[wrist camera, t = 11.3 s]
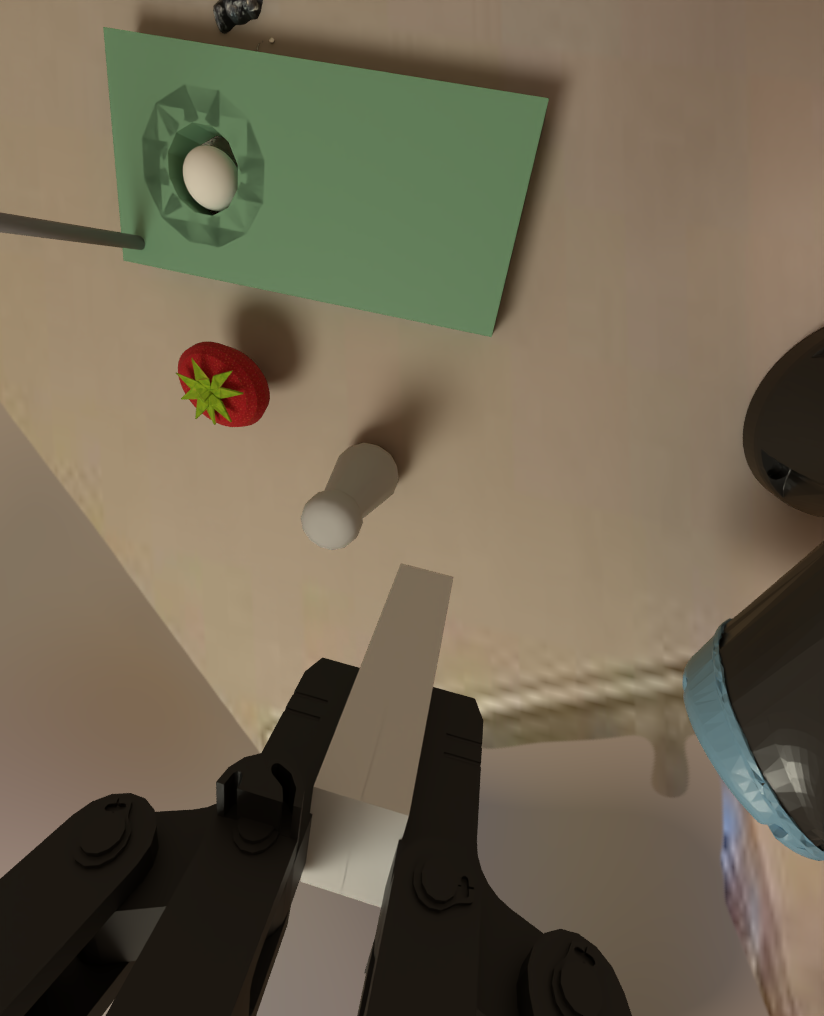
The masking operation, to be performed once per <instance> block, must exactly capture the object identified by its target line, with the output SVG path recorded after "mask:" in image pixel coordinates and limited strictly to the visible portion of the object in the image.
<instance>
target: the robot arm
mask: <svg viewBox="0 0 824 1016" xmlns="http://www.w3.org/2000/svg"><path fill="white" fill-rule="evenodd" d="M743 447H744V453H745V457H746V460H747V463H748V465H749V467H750V470H751V471H752V473H753V475H754V476H755V477H756V479H757V480H758V481H759V482H760V483H761V484H762V485H763V486H764V487H765V488H766V489H767V490H768V491H770V492H771V493H772V494H774V495H775V496H777V497H778V498H779V499H781V500H782V501H783V502H785V503H787V504H788V505H790V506H792V507H794V508H796V509H798V510H800V511H803V512H805V513H808V514H811V515H814V516H818V517H823V518H824V328H823V329H821V330H819V331H817V332H815V333H814V334H812V335H810V336H809V337H807V338H806V339H805V340H803V341H802V342H800V343H799V344H798V345H796V346H795V347H794V348H793V349H791V350H790V351H789V352H788V353H787V354H786V355H785V356H784V357H782V358H781V359H780V360H779V361H778V362H777V364H776V365H775V366H774V367H773V368H772V369H771V370H770V372H769V373H768V374H767V375H766V377H765V378H764V379H763V381H762V382H761V384H760V385H759V387H758V389H757V390H756V392H755V394H754V396H753V398H752V400H751V402H750V405H749V408H748V410H747V414H746V417H745V422H744V428H743ZM452 582H453V577H452V576H448V575H444V574H440V573H436V572H432V571H429V570H425V569H421V568H417V567H413V566H409V565H405V564H401V565H400V567H399V570H398V572H397V575H396V577H395V580H394V583H393V585H392V588H391V590H390V593H389V595H388V598H387V600H386V603H385V606H384V608H383V611H382V613H381V616H380V618H379V621H378V623H377V626H376V628H375V631H374V634H373V636H372V639H371V641H370V644H369V646H368V649H367V651H366V654H365V657H364V659H363V662H362V664H361V667H360V668H358V667H354V666H351V665H347V664H344V663H340V662H337V661H333V660H329V659H326V658H321V659H320V660H319V661H318V662H316V663H315V664H314V665H313V666H311V667H310V668H309V669H308V670H306V671H305V673H304V674H303V676H302V678H301V680H300V682H299V684H298V686H297V688H296V689H295V692H294V695H292V697H291V699H290V701H289V702H288V704H287V706H286V709H285V711H284V712H283V714H282V716H281V717H280V719H279V721H278V723H277V725H276V727H275V729H274V731H273V732H272V734H271V736H270V738H269V740H268V742H267V744H266V745H265V747H264V749H263V751H262V753H260V754H257V755H252V756H248V757H244V758H243V759H241V760H240V761H238V762H236V763H235V764H233V765H231V766H230V767H228V769H227V770H226V771H225V772H224V773H223V775H222V776H221V777H220V778H219V779H218V781H217V782H216V789H217V791H216V795H217V804H214V805H212V806H209V807H206V808H200V809H194V810H179V811H162V812H155V811H154V809H153V808H152V806H151V805H150V804H149V803H148V801H147V800H146V799H145V798H142V797H140V796H137V795H134V794H132V793H124V794H111V795H108V796H106V797H103V798H101V799H98V800H95V801H92V802H91V803H89V804H88V805H87V806H85V807H84V808H82V809H81V810H79V811H78V812H76V813H75V814H73V815H72V816H71V817H70V818H69V819H68V820H66V821H65V822H64V823H63V824H62V825H61V826H60V827H59V828H57V830H55V831H54V832H53V833H52V834H51V835H49V836H48V837H47V838H46V839H45V840H44V841H43V842H42V843H40V844H39V845H38V846H37V847H36V848H35V849H34V850H33V851H31V852H30V853H29V854H28V855H27V856H26V857H25V858H24V859H22V860H21V861H20V862H19V863H18V864H17V865H15V866H14V867H13V868H12V869H11V870H10V871H9V872H8V873H6V874H5V875H4V876H3V877H2V878H1V879H0V1016H102V1015H103V1014H104V1012H105V1011H106V1010H107V1008H108V1007H109V1006H110V1004H111V1003H112V1002H113V1000H114V999H115V1000H114V1002H113V1003H112V1005H111V1007H110V1009H109V1011H108V1013H107V1014H106V1016H256V1014H257V1011H258V1008H259V1006H260V1003H261V1000H262V997H263V994H264V991H265V988H266V985H267V982H268V979H269V977H270V974H271V971H272V968H273V965H274V962H275V959H276V956H277V953H278V951H279V948H280V945H281V942H282V939H283V936H284V933H285V930H286V927H287V924H288V918H289V913H290V907H291V903H292V900H293V898H294V895H295V892H296V889H297V886H298V883H299V880H300V878H301V882H304V883H307V884H310V885H313V886H316V887H319V888H322V889H326V890H328V891H331V892H335V893H338V894H341V895H344V896H347V897H350V898H353V899H356V900H359V901H362V902H365V903H368V904H371V905H375V906H378V907H381V911H380V916H379V921H378V925H377V930H376V935H375V939H374V942H373V946H372V949H371V953H370V956H369V959H368V963H367V966H366V969H365V973H366V977H365V981H364V987H363V991H362V996H361V1001H360V1006H359V1010H358V1015H357V1016H632V1015H631V1012H630V1009H629V1006H628V1003H627V1000H626V997H625V993H624V991H623V989H622V987H621V985H620V983H619V981H618V978H617V976H616V974H615V972H614V970H613V968H612V966H611V965H610V964H609V962H608V961H607V960H606V959H605V957H604V956H603V955H602V953H601V952H600V951H599V950H598V949H597V947H596V946H594V945H593V944H592V943H590V942H589V941H588V940H586V939H584V937H582V936H580V935H579V934H577V933H574V932H570V931H566V930H563V929H559V930H554V931H551V932H547V933H544V934H543V933H542V932H541V931H539V930H538V929H537V928H535V927H534V926H533V925H531V924H530V923H529V922H527V921H526V920H525V919H523V918H522V917H521V916H519V915H518V914H517V913H515V912H514V911H513V910H511V909H510V908H509V907H508V906H507V905H506V904H505V903H504V902H503V901H501V900H500V899H499V898H498V896H497V895H496V894H495V892H494V891H493V890H492V888H491V887H490V886H489V884H488V882H487V880H486V878H485V876H484V874H483V872H482V870H481V866H480V863H479V859H478V854H477V828H478V809H479V790H480V771H481V767H480V765H481V753H482V752H481V751H482V748H481V746H482V735H483V719H482V716H481V713H480V711H479V708H478V705H477V703H476V700H475V699H474V698H471V697H467V696H464V695H460V694H456V693H453V692H449V691H446V690H442V689H438V688H435V687H433V684H434V678H435V673H436V668H437V662H438V657H439V652H440V646H441V641H442V636H443V630H444V625H445V619H446V614H447V609H448V603H449V598H450V593H451V587H452ZM683 689H684V703H685V707H686V710H687V714H688V717H689V719H690V722H691V724H692V727H693V729H694V732H695V734H696V736H697V738H698V740H699V742H700V744H701V746H702V747H703V749H704V751H705V753H706V755H707V756H708V758H709V760H710V761H711V763H712V764H713V766H714V768H715V769H716V771H717V772H718V774H719V775H720V777H721V778H722V780H723V781H724V782H725V784H726V785H727V787H728V788H729V789H730V791H731V792H732V793H733V794H734V796H735V797H736V798H737V799H738V801H739V802H740V803H741V804H742V805H743V806H744V807H745V809H746V810H747V811H748V812H749V813H750V814H751V815H752V816H753V817H754V818H755V819H756V820H757V821H758V822H759V823H761V824H767V825H768V826H769V828H770V830H771V832H772V833H773V835H774V837H775V838H776V839H777V840H779V841H780V842H781V843H782V844H784V845H785V846H787V847H788V848H789V849H791V850H792V851H794V852H796V853H798V854H800V855H802V856H804V857H807V858H810V859H813V860H818V861H821V860H824V541H823V542H822V543H821V544H820V545H819V546H817V547H816V548H815V549H814V550H813V551H812V552H810V553H809V554H808V555H807V556H806V557H805V558H803V559H802V560H801V561H800V562H799V563H798V564H796V565H795V566H794V567H793V568H792V569H791V570H789V571H788V572H787V573H786V574H785V575H784V576H782V577H781V578H780V579H779V580H778V581H777V582H775V583H774V584H773V585H772V586H771V587H770V588H768V589H767V590H766V591H765V592H764V593H763V594H761V595H760V596H759V597H758V598H757V599H756V600H754V601H753V602H752V603H751V604H750V605H749V606H747V607H746V608H745V609H744V610H743V611H742V612H740V613H739V614H738V615H737V616H735V617H734V618H733V619H731V618H730V619H728V620H726V621H724V622H723V623H722V624H721V625H720V626H719V627H718V629H717V630H716V633H715V635H714V636H713V637H712V638H711V639H710V640H709V641H708V642H707V643H706V644H705V645H704V646H703V647H702V648H701V649H700V650H699V651H698V652H697V653H696V654H694V655H693V656H692V658H691V659H690V660H689V661H688V663H687V665H686V667H685V670H684V673H683ZM301 875H302V876H301Z"/></svg>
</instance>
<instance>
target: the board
mask: <svg viewBox="0 0 824 1016" xmlns="http://www.w3.org/2000/svg"><path fill="white" fill-rule="evenodd" d="M103 29H104V40H105V52H106V63H107V75H108V86H109V98H110V109H111V121H112V132H113V144H114V155H115V167H116V178H117V190H118V201H119V213H120V224H121V233H120V232H114V231H108V230H102V229H96V228H90V227H84V226H78V225H72V224H66V223H60V222H54V221H48V220H42V219H36V218H30V217H24V216H18V215H12V214H6V213H0V232H2V233H10V234H18V235H26V236H34V237H41V238H49V239H57V240H65V241H73V242H81V243H89V244H97V245H105V246H112V247H120V248H123V259H124V261H129V262H133V263H138V264H143V265H148V266H153V267H157V268H162V269H167V270H172V271H177V272H181V273H186V274H191V275H196V276H201V277H205V278H210V279H215V280H220V281H225V282H230V283H234V284H239V285H244V286H249V287H254V288H258V289H263V290H268V291H273V292H278V293H282V294H287V295H292V296H297V297H302V298H306V299H311V300H316V301H321V302H326V303H330V304H335V305H340V306H345V307H350V308H355V309H359V310H364V311H369V312H374V313H379V314H383V315H388V316H393V317H398V318H403V319H407V320H412V321H417V322H422V323H427V324H431V325H436V326H441V327H446V328H451V329H456V330H460V331H465V332H470V333H475V334H480V335H484V336H489V337H492V334H493V330H494V326H495V322H496V318H497V313H498V309H499V305H500V301H501V297H502V293H503V289H504V284H505V280H506V276H507V272H508V268H509V264H510V260H511V255H512V251H513V247H514V243H515V239H516V235H517V230H518V226H519V222H520V218H521V214H522V210H523V206H524V201H525V197H526V193H527V189H528V185H529V181H530V177H531V172H532V168H533V164H534V160H535V156H536V152H537V148H538V143H539V139H540V135H541V131H542V127H543V123H544V118H545V114H546V110H547V105H548V100H549V98H544V97H537V96H531V95H525V94H519V93H512V92H506V91H500V90H494V89H487V88H481V87H475V86H469V85H462V84H456V83H450V82H444V81H437V80H431V79H425V78H419V77H412V76H406V75H400V74H394V73H387V72H381V71H375V70H369V69H363V68H356V67H350V66H344V65H338V64H331V63H325V62H319V61H313V60H306V59H300V58H294V57H288V56H281V55H275V54H269V53H263V52H256V51H250V50H244V49H238V48H231V47H225V46H219V45H213V44H206V43H200V42H194V41H188V40H181V39H175V38H169V37H163V36H157V35H150V34H144V33H138V32H132V31H125V30H119V29H113V28H107V27H103ZM215 136H220V137H224V138H225V139H226V140H227V141H228V142H229V144H230V147H231V149H232V152H233V154H234V157H235V159H236V162H237V164H238V189H237V191H236V193H235V195H234V197H233V199H232V201H231V203H230V205H229V207H228V208H226V209H225V210H223V211H221V212H219V213H217V214H215V215H213V214H212V213H210V212H209V211H208V210H207V209H206V208H205V207H203V206H202V205H200V204H199V203H198V202H197V201H196V200H195V199H194V198H193V197H192V196H191V194H190V193H189V191H188V189H187V187H186V184H185V182H184V177H183V164H184V161H185V158H186V156H187V155H188V153H189V152H190V151H191V150H192V149H194V148H196V147H198V146H201V145H202V144H203V143H205V142H207V141H208V140H210V139H212V138H213V137H215Z"/></svg>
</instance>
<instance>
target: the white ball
mask: <svg viewBox="0 0 824 1016" xmlns="http://www.w3.org/2000/svg"><path fill="white" fill-rule="evenodd" d="M183 177H184V182H185V184H186V187H187V189H188V191H189V193H190V194H191V196H192V197H193V198H194V199H195V200H196V201H197V202H198V203H199V204H200V205H202V206H203V207H205V208H207V209H209V210H213V211H223V210H225V209H226V208H228V207H229V205H230V203H231V201H232V199H233V197H234V195H235V193H236V191H237V189H238V169H237V167H236V165H235V163H234V162H233V160H232V159H231V158H230V157H229V156H228V155H227V154H226V153H225V152H223V151H222V150H220V149H218V148H216V147H213V146H209V145H202V146H198V147H196V148H194V149H192V150H191V151H190V152H189V153H188V155H187V156H186V158H185V161H184V164H183Z"/></svg>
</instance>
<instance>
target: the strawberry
mask: <svg viewBox="0 0 824 1016" xmlns="http://www.w3.org/2000/svg"><path fill="white" fill-rule="evenodd" d="M176 374H177V375H178V376H179V380H180V383H181V386H182V388H183V390H184V392H185V395H184V396H183V397H182V398H181V399H189V400H190V401H191V402H192V404H193V405H194V406H195V407H196V418H195V419H197V418H198V417H199V416H200V415H201V414H204V415H205V416H206V417H207V418H209V419H211V420H212V422H213V424H214V425H215V424H216V423H219V424H221V425H224V426H229V427H242V426H248V425H252V424H254V423H256V422H257V421H258V420H259V419H260V418H261V417H262V415H263V414H264V412H265V410H266V408H267V406H268V404H269V400H270V392H269V387H268V384H267V381H266V379H265V377H264V375H263V373H262V372H261V370H260V369H259V368H258V366H257V365H256V364H255V363H254V362H253V361H252V360H251V359H250V358H249V357H248V356H246V355H245V354H244V353H242V352H240V351H238V350H236V349H234V348H231V347H228V346H225V345H222V344H220V343H215V342H201V343H197V344H195V345H193V346H192V347H190V348H189V349H187V350H186V351H184V353H183V354H182V355H181V357H180V360H179V363H178V373H176Z"/></svg>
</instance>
